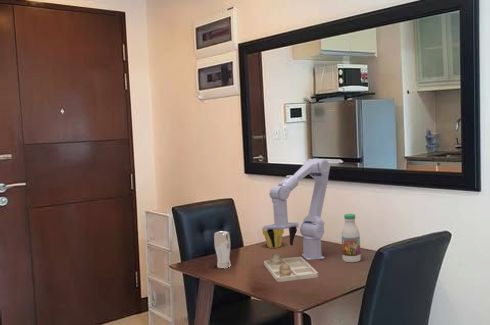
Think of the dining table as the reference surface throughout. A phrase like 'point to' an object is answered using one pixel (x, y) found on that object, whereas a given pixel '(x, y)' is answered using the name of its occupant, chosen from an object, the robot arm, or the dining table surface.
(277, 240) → the plant pot
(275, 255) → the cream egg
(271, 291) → the dining table surface
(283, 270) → the tan tiered dome
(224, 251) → the beer glass
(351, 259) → the milk bottle
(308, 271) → the white compartment tray
